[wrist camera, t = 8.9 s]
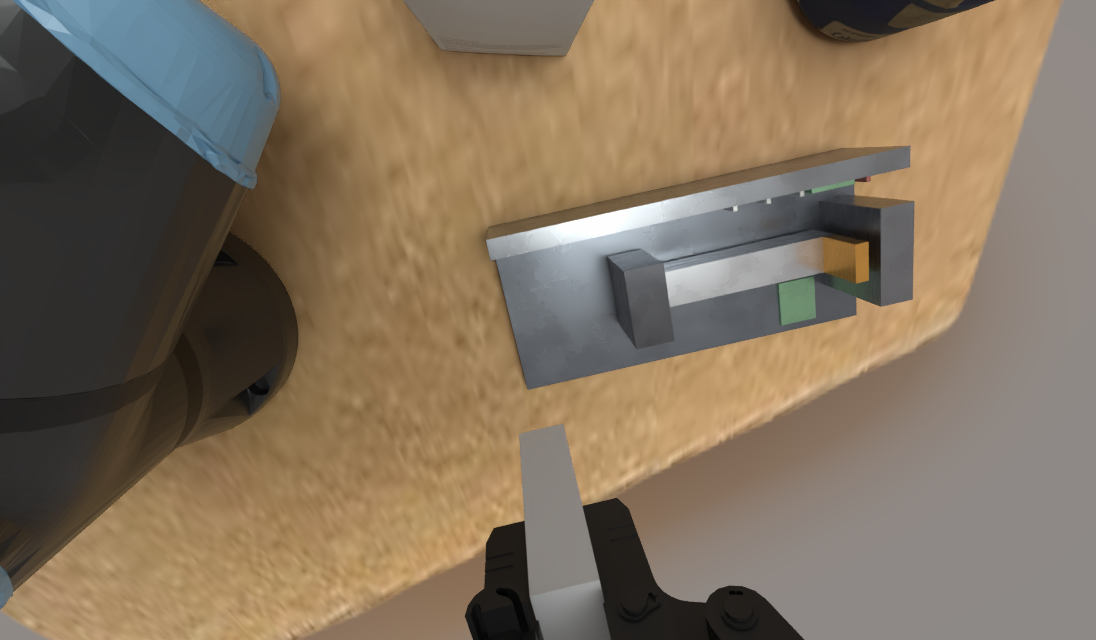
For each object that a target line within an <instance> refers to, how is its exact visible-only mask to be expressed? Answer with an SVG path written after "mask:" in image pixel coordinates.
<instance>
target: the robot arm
mask: <svg viewBox="0 0 1096 640" xmlns="http://www.w3.org/2000/svg"><path fill="white" fill-rule="evenodd" d="M280 99H281V91H280V83H279V79H278V76H277V73H276V71H275V69H274V66H273V64H272V63H271V61H270V59H269V58H268V56H267V55H266V54H265V52H264V51H263V50H262V49H261V47H260V46H259V45H258V44H257V43H256V42H254V41H253V40H252V39H251V38H250V37H248V36H247V35H246V34H244V33H243V32H242V31H240V30H239V29H238V28H236V27H235V26H233V25H232V24H231V23H229V22H228V21H227V20H225V19H224V18H223V17H221V16H220V15H218V14H217V13H216V12H214V11H213V10H212V9H210V8H209V7H208V6H206V5H205V4H203V3H202V2H201V1H199V0H0V609H1V608H3V607H4V606H5V604H6V603H7V601H8V599H9V598H10V597H11V596H13V592H14V591H15V590H16V589H17V588H18V587H19V586H21V585H22V584H23V583H24V582H25V581H26V580H27V579H29V578H30V577H31V576H32V575H33V574H34V573H35V572H36V571H38V570H39V569H40V568H41V567H42V566H43V565H44V564H45V563H47V562H48V561H49V560H50V559H51V558H52V557H53V556H55V555H56V554H57V553H58V552H59V551H60V550H61V549H62V548H64V547H65V546H66V545H67V544H68V543H69V542H70V541H71V540H73V539H74V538H75V537H76V536H77V535H78V534H79V533H81V532H82V531H83V530H84V529H85V528H86V527H87V526H88V525H90V524H91V523H92V522H93V521H94V520H95V519H96V518H97V517H99V516H100V515H101V514H102V513H103V512H104V511H105V510H107V509H108V508H109V507H110V506H111V505H112V504H113V503H114V502H116V501H117V500H118V499H119V498H120V497H121V496H122V495H123V494H125V493H126V492H127V491H128V490H129V489H130V488H131V487H133V486H134V485H135V484H136V483H137V482H138V481H139V480H140V479H142V478H143V477H144V476H145V475H146V474H147V473H148V472H149V471H151V470H152V469H153V468H154V467H155V466H156V465H157V464H159V463H160V462H161V461H162V460H163V459H164V458H165V457H166V456H167V455H169V454H170V453H171V452H172V451H173V450H174V449H176V448H178V447H181V446H184V445H187V444H190V443H193V442H195V441H198V440H201V439H204V438H207V437H209V436H212V435H215V434H218V433H221V432H224V431H226V430H229V429H231V428H233V427H235V426H237V425H239V424H241V423H242V422H244V421H245V420H247V419H249V418H250V417H251V416H253V415H254V414H255V413H257V412H258V411H259V410H260V409H261V408H262V407H263V406H264V405H265V404H266V403H267V402H268V401H269V400H270V399H271V398H272V397H273V396H274V395H275V394H276V393H277V392H278V391H279V389H280V388H281V387H282V386H283V384H284V383H285V381H286V379H287V378H288V376H289V374H290V372H291V369H292V367H293V364H294V361H295V357H296V352H297V343H298V331H297V323H296V317H295V313H294V309H293V306H292V303H291V301H290V298H289V296H288V294H287V292H286V290H285V288H284V286H283V284H282V283H281V281H280V279H279V278H278V276H277V275H276V274H275V272H274V271H273V270H272V268H271V267H270V266H269V265H268V264H267V263H266V261H265V260H264V259H263V258H262V257H261V256H260V255H259V254H258V253H257V252H255V251H254V250H253V249H252V248H251V247H249V246H248V245H247V244H246V243H244V242H243V241H241V240H240V239H238V238H237V237H235V236H234V235H232V234H230V233H229V230H230V228H231V226H232V224H233V222H234V219H235V217H236V215H237V213H238V211H239V209H240V206H241V204H242V202H243V200H244V198H245V196H246V194H247V191H248V189H254V188H255V186H256V184H257V177H258V176H257V174H256V171H255V169H256V167H257V164H258V162H259V159H260V156H261V154H262V151H263V149H264V146H265V144H266V141H267V138H268V136H269V133H270V131H271V128H272V125H273V123H274V120H275V118H276V115H277V113H278V110H279V106H280ZM519 440H520V456H521V471H522V487H523V502H524V518H525V521H522V522H518V523H513V524H509V525H505V526H501V527H496V528H494V529H493V531H492V533H491V535H490V537H489V539H488V541H487V543H486V562H485V573H486V574H485V585H484V589H483V590H482V591H480V592H479V593H478V594H476V595H475V596H474V598H473V599H472V601H471V602H470V603H469V605H468V608H467V611H466V614H465V618H466V620H467V623H468V626H469V629H470V632H471V635H472V638H473V640H804V639H803V638H802V637H801V636H800V635H799V634H798V633H797V632H796V630H795V629H793V627H792V626H791V625H790V624H789V623H788V622H787V621H786V620H785V619H784V618H783V617H782V616H781V615H780V614H779V613H778V611H776V609H775V608H774V607H773V606H772V605H771V604H770V603H769V602H768V601H767V600H766V599H765V598H764V597H762V596H761V595H760V594H758V593H757V592H756V591H754V590H751V589H748V588H746V587H743V586H727V587H723V588H719V589H717V590H716V591H715V592H714V593H712V594H711V595H710V596H709V598H708V600H707V602H706V603H702V602H688V601H682V600H678V599H676V598H673V597H671V596H669V595H668V594H666V593H665V592H663V591H662V590H661V588H660V587H659V586H658V585H657V583H656V582H655V580H654V577H653V574H652V572H651V569H650V566H649V564H648V561H647V558H646V555H645V553H644V550H643V547H642V544H641V541H640V539H639V537H638V533H637V531H636V528H635V525H634V522H633V520H632V517H631V514H630V511H629V509H628V508H627V507H626V506H625V505H624V504H623V503H622V502H621V501H620V500H619V499H617V498H614V499H610V500H606V501H602V502H597V503H593V504H589V505H585V506H582V502H581V498H580V494H579V489H578V485H577V481H576V476H575V472H574V468H573V464H572V459H571V455H570V451H569V446H568V442H567V438H566V434H565V429H564V425H563V424H559V425H555V426H551V427H546V428H542V429H538V430H533V431H529V432H525V433H521V434H519Z"/></svg>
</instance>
